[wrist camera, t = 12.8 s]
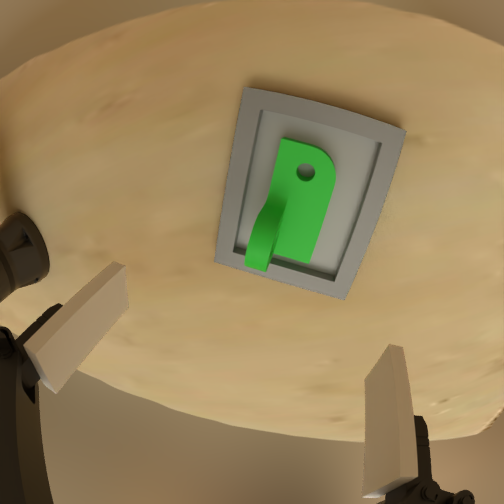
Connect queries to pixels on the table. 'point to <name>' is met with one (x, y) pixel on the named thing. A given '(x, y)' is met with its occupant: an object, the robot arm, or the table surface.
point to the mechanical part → (292, 206)
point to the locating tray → (347, 176)
